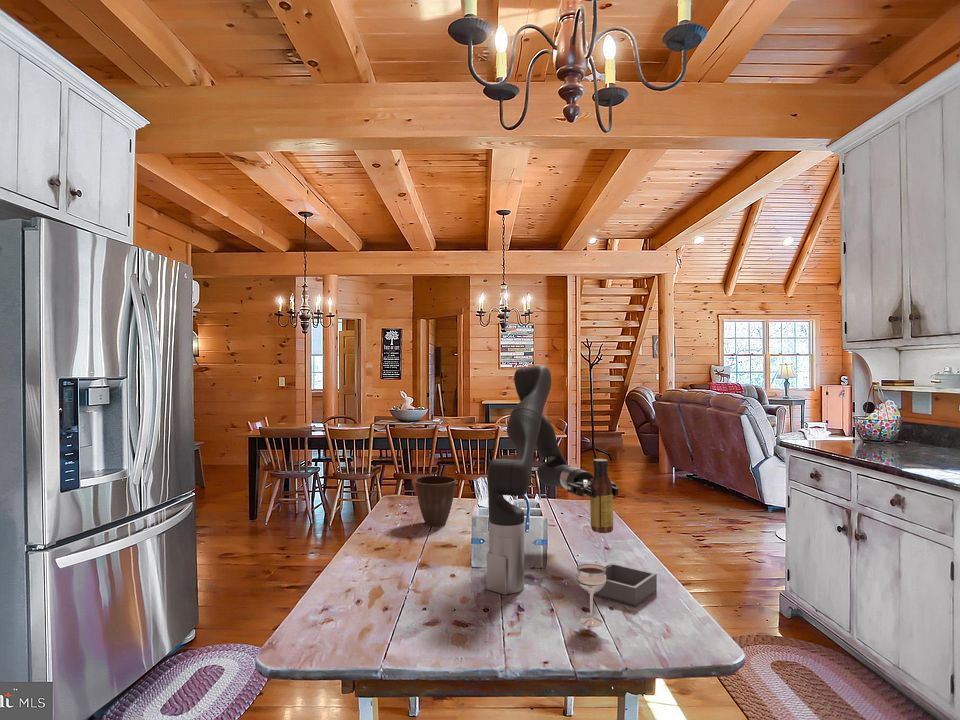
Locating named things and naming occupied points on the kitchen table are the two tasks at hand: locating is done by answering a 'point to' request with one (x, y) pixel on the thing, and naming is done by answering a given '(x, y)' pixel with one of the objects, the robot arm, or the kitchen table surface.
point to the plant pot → (435, 498)
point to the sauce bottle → (601, 498)
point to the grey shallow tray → (627, 585)
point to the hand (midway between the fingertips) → (605, 493)
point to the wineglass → (591, 587)
